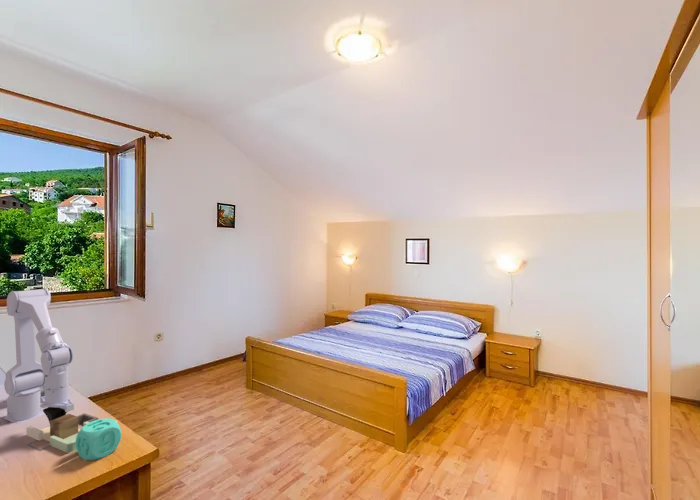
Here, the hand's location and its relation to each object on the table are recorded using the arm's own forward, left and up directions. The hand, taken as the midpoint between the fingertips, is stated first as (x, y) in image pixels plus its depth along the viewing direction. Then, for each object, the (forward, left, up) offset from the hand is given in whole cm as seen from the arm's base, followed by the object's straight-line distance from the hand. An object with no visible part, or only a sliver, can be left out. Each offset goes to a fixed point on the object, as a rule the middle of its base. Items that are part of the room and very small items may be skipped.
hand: (56, 429), depth 109 cm
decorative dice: (+22, -1, -2) cm, 22 cm away
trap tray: (+5, 0, -1) cm, 5 cm away
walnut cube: (+4, 0, -1) cm, 4 cm away
